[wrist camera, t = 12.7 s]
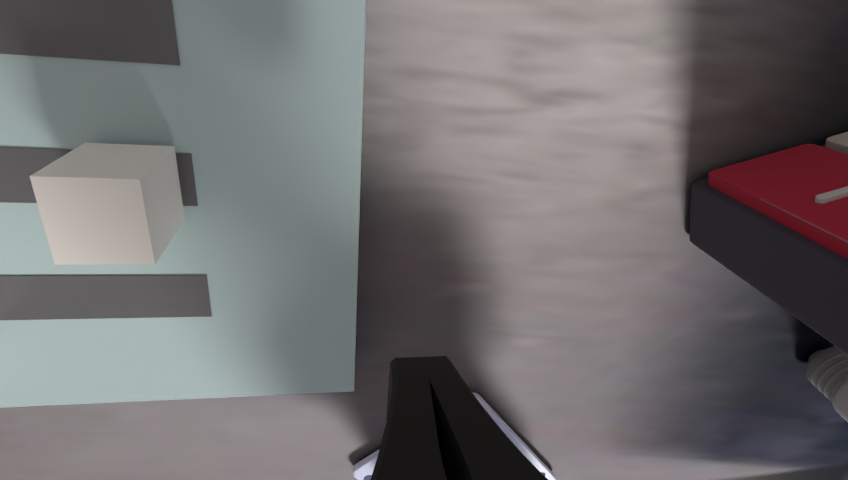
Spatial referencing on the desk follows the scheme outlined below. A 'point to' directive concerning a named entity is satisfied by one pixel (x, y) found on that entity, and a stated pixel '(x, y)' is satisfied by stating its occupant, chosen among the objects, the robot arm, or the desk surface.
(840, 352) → the lightbulb
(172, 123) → the switch board
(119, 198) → the tab
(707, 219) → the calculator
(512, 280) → the desk surface
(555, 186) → the desk surface
